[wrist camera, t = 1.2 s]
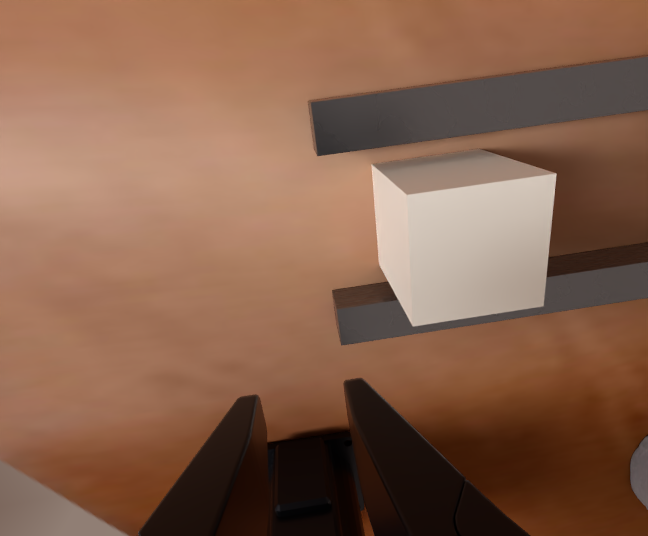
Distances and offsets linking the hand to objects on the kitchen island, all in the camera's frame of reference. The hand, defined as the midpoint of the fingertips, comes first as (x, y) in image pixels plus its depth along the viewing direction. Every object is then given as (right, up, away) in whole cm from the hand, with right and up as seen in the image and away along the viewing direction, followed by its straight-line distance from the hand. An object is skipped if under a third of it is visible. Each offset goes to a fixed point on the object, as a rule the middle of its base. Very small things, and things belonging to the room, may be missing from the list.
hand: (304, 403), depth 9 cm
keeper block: (+5, +6, +11) cm, 14 cm away
